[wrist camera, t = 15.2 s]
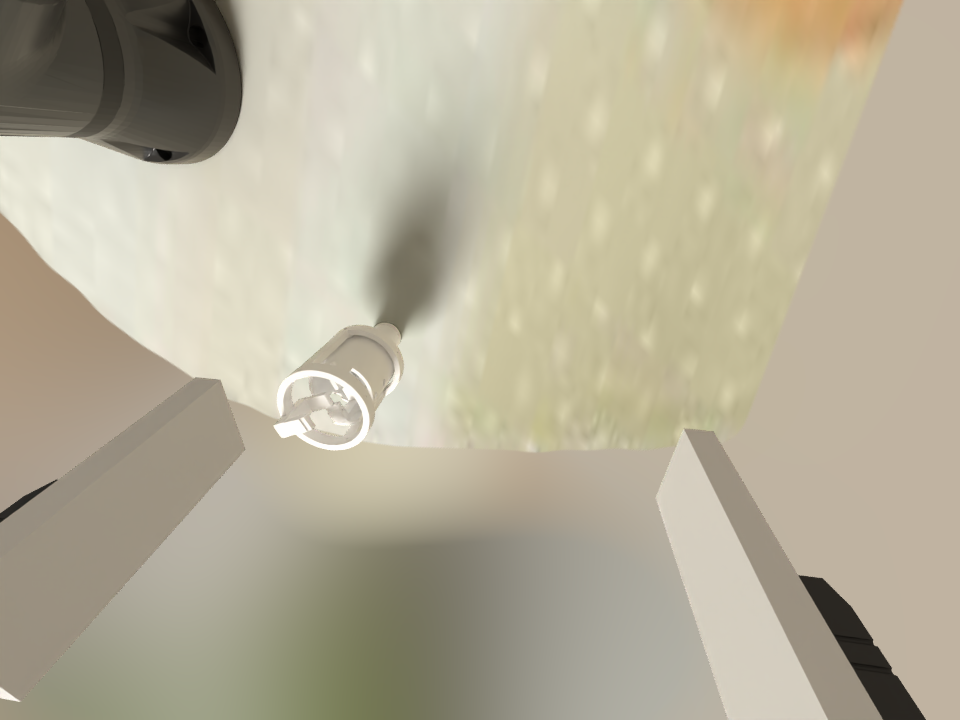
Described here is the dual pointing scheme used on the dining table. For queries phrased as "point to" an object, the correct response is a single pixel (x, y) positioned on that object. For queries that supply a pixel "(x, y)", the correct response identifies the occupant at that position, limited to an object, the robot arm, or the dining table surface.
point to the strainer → (343, 385)
